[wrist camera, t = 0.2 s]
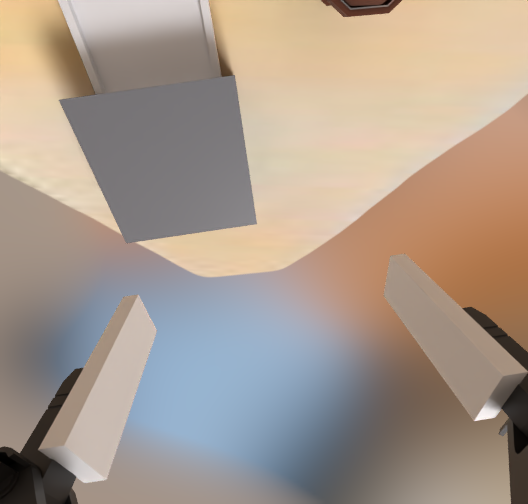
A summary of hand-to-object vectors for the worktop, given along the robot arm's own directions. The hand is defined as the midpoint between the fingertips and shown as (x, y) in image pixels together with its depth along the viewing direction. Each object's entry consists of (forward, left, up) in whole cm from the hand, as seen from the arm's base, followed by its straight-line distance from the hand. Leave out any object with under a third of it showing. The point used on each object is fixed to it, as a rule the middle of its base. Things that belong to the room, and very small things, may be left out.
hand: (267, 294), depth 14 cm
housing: (-3, -9, -27) cm, 28 cm away
